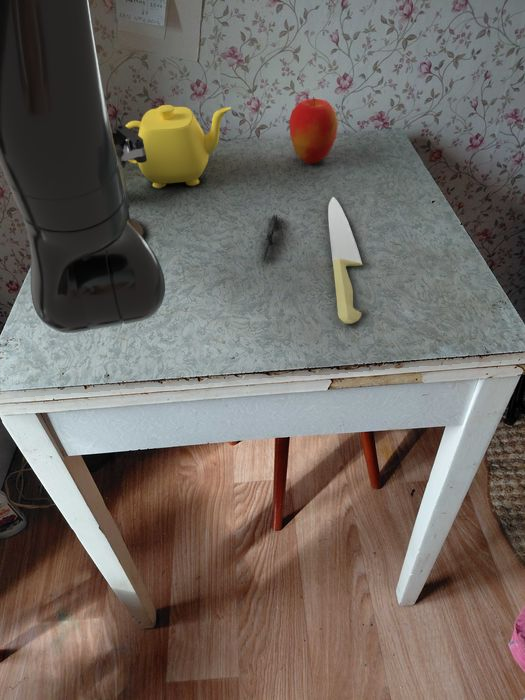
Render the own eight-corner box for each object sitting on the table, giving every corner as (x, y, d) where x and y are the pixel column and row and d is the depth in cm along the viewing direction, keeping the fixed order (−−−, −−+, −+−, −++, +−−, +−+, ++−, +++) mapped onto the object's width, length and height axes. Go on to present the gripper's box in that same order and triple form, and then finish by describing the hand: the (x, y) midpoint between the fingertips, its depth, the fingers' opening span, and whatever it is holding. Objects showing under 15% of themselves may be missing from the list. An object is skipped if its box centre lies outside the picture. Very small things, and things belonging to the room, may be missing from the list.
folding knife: (266, 267, 81) (266, 257, 79) (259, 267, 81) (259, 256, 79) (278, 220, 89) (277, 210, 88) (271, 220, 90) (271, 210, 88)
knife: (351, 195, 93) (325, 192, 93) (374, 322, 70) (340, 318, 70) (349, 202, 94) (324, 199, 94) (371, 329, 71) (337, 325, 71)
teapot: (135, 161, 106) (120, 95, 97) (234, 154, 107) (229, 88, 98) (128, 196, 97) (111, 127, 88) (237, 189, 97) (231, 119, 88)
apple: (327, 174, 100) (331, 109, 91) (282, 167, 102) (282, 103, 94) (340, 152, 106) (345, 89, 97) (297, 146, 108) (298, 84, 99)
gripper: (151, 145, 54) (133, 86, 65) (4, 168, 51) (13, 103, 63) (163, 210, 59) (145, 146, 71) (32, 234, 57) (35, 163, 68)
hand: (83, 126), depth 67 cm, fingers closed on tube, 4 cm apart
